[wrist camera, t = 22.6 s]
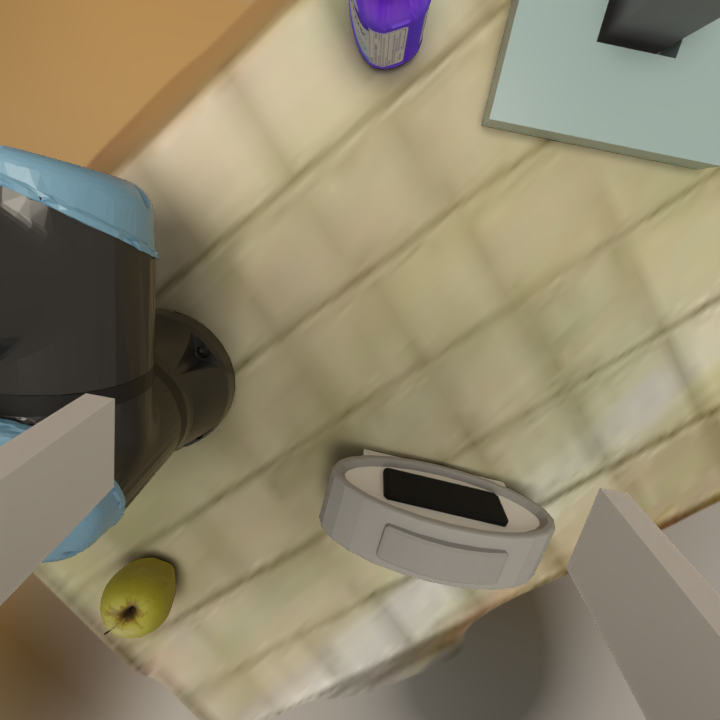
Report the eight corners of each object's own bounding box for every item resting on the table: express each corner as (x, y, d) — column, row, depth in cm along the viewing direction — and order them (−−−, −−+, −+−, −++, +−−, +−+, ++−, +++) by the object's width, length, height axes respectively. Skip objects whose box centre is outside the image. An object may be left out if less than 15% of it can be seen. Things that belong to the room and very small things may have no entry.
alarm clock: (533, 482, 52) (581, 565, 39) (515, 525, 53) (555, 617, 41) (337, 435, 51) (325, 505, 38) (326, 480, 53) (310, 561, 40)
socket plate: (481, 125, 40) (489, 118, 37) (552, -165, 34) (568, -200, 31) (696, 169, 41) (720, 166, 38) (806, -109, 34) (845, -138, 31)
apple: (152, 615, 59) (94, 670, 49) (126, 559, 59) (64, 603, 49) (201, 594, 57) (153, 647, 47) (175, 537, 58) (121, 578, 48)
